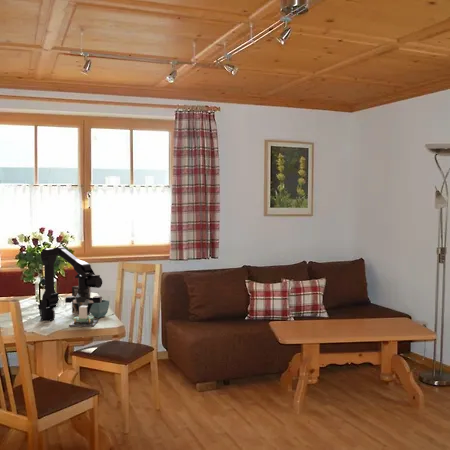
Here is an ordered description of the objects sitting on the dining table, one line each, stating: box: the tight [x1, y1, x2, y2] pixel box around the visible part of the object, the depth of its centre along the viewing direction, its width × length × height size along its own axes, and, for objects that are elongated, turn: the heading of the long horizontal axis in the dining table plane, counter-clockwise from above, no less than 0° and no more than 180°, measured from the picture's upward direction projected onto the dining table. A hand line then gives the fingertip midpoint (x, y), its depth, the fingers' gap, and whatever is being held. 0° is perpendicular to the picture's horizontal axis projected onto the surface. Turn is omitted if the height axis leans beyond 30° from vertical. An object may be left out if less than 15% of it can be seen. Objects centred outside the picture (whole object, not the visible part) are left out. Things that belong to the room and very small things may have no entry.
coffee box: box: [71, 285, 91, 316], centre depth 326 cm, size 9×6×16 cm
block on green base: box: [72, 306, 95, 321], centre depth 299 cm, size 10×10×7 cm
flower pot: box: [88, 299, 110, 318], centre depth 318 cm, size 9×9×9 cm
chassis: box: [68, 315, 99, 328], centre depth 299 cm, size 13×13×4 cm
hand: (83, 315), depth 299 cm, fingers closed on block on green base, 4 cm apart
